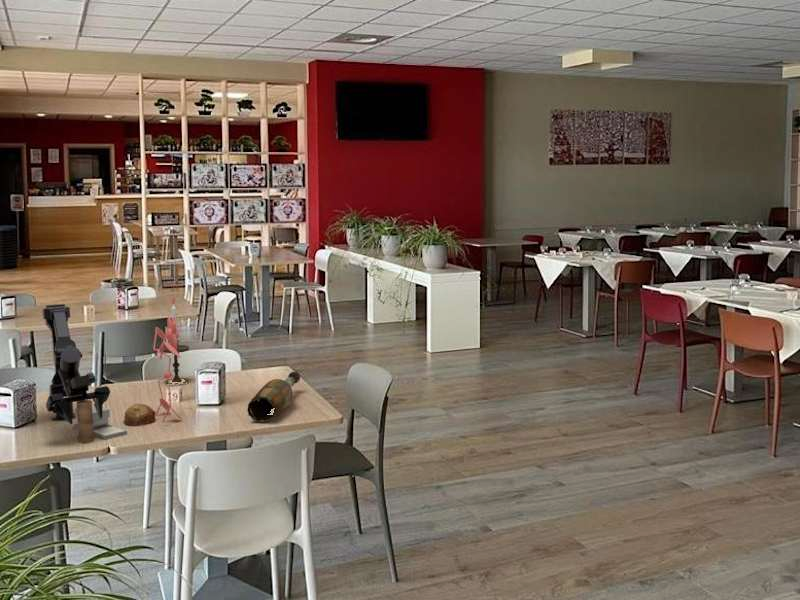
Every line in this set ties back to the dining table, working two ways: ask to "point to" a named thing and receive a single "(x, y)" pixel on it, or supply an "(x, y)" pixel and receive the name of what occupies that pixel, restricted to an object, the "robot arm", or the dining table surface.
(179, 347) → the candlestick
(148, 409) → the bread roll
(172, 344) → the figurine
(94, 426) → the grey stand
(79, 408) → the walnut roller
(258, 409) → the decorative bottle
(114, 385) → the dining table surface
